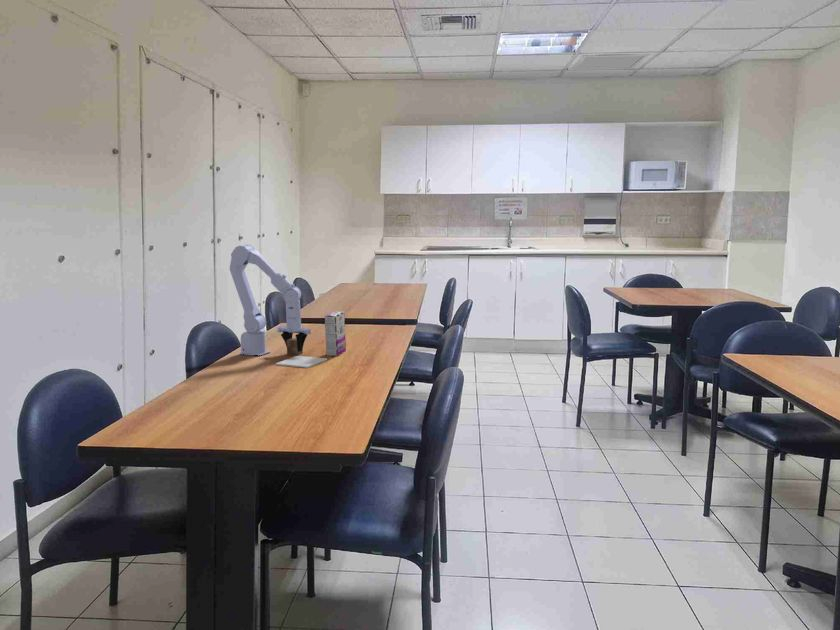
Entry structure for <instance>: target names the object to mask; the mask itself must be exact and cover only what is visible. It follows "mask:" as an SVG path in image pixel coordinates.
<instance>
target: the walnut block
mask: <svg viewBox="0 0 840 630" xmlns="http://www.w3.org/2000/svg"><path fill="white" fill-rule="evenodd" d="M299 354H300V355H302V354H304V350H303V349H302V351H300V352H299V351H298V344H297V339H296V337H292V339H289V340H287V347H286V355H287V356H295V355H297V356H300V355H299Z"/></svg>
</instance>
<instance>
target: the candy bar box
mask: <svg viewBox="0 0 840 630" xmlns="http://www.w3.org/2000/svg"><path fill="white" fill-rule="evenodd" d="M345 318H346V317H345V311H333V312H331V313H328V314H326V315H324V328H325V351H326V357H327V356H328V357H338V356H340V355H341V354H343V353H344V352H345V351H346V350H347V348H346V347H347V344H346V323H345V321H346V320H345ZM342 352H343V353H342ZM339 354H340V355H339Z"/></svg>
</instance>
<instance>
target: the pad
mask: <svg viewBox="0 0 840 630" xmlns="http://www.w3.org/2000/svg"><path fill="white" fill-rule="evenodd" d="M327 361H328V358H323V357H315V356H302V355H297V356H295V355H294V356H292V357H290V358H287V359H283V360H282V361H278V362H276V363H275V366H283V367H291V368H292V367H294V368H303V369H309V368H311V367H313V366H316V365H319V364H321V363H323V362H327Z"/></svg>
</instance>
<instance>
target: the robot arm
mask: <svg viewBox="0 0 840 630" xmlns="http://www.w3.org/2000/svg"><path fill="white" fill-rule="evenodd" d="M230 256H231V259H230V265H229V272H230V274H231V277H232V280H233V284H234V286H235V289H236V293H237V294H238V298H239V301H240V303H241V306H242V308H243V317H242V318H243V320H244V321H243V322H244V323H243V327H244V330H245V331H244V332H242V333H241V335H240V353H239V354H240V355H243V354H244V356H245V355H246V356H254V355H258V356H257V357H259V355H260V356H262V355H266V354H268V353H271V351H270V350H266V349H267V348H266V330H265V328H266V325H267V318H266V317H265V315H263V313H262V311H261V309H260V308H259V307H258V305H257V303H256V301H255V298H254V297H255V296H254V294H253V291H252V290H251V286H250V283H249V280H248V278H247V275H246V271H245V269H246V267H247V266H248V265H249V264H251V265H256V267H258V268H259V269H260V270H261V271H262V272H263V273H265V275H266V276H268V277H269V279H270V284H271V285H272V286H273V287H274V288H275V289H276V290H277V291H278V292H279V293H280V294H281V295H283V297H282V298H283V300H284V301H285V312H286V313H285V316H286V317H285V318H286V319H285V320H286V326H278V327H277V333H280V336H281V338H282V339H283V341H284V344H285V347H286V348H287V340H289V339H292V338H293V334H295V338H296V339H297V344H298V351H299V352H300V351H302V349H303V348H304V344H305V342H306V339H307V336H308V335H311V334H312V330H311V328H305V327H302V315H301V312H302V311H301V310H302V309H301V300H300V299H301V297H302V291H301V289H300V288H299V287H298V286H295V285H296V284H295V283H292V282H291V281H290V280H289V279H288V278H287V275H286V274H283V273H281V272H277V271H276V270H275V269H274V268H273V267H272V265H270V263H269V262H268V261H267V260H266V258H264V257H263V255H262V254H261V253H260V251H258V250H257V249H255V247H254V246H253V245H252V244H245V245H237V246H235V247H234V249H233V250H232V252H231V253H230Z"/></svg>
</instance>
